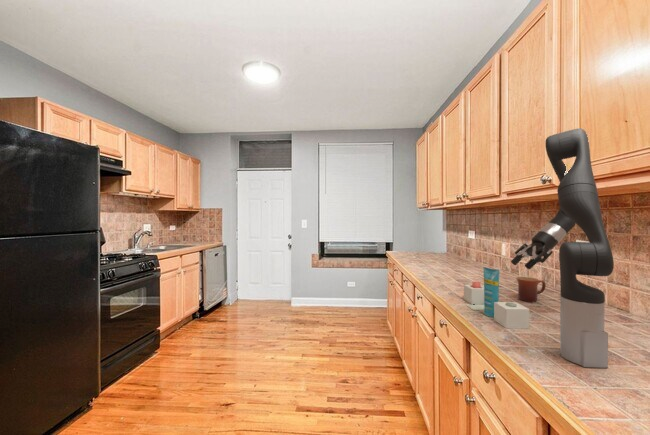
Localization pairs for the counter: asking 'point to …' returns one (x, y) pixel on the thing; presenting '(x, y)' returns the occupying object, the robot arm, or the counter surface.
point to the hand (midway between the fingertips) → (519, 265)
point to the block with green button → (511, 315)
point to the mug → (529, 288)
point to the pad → (476, 307)
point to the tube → (490, 290)
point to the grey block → (474, 295)
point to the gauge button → (476, 284)
